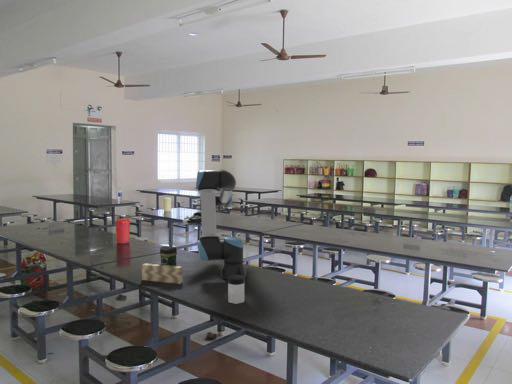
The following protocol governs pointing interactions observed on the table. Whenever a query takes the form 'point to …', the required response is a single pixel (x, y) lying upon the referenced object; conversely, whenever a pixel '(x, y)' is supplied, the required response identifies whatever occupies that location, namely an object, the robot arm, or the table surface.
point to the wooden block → (162, 273)
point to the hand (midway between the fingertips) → (183, 222)
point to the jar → (236, 289)
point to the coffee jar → (168, 255)
